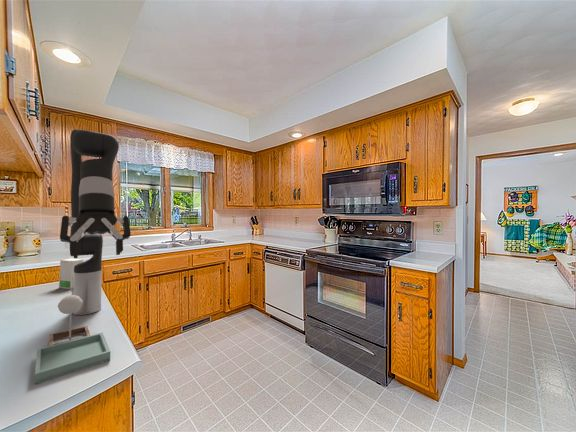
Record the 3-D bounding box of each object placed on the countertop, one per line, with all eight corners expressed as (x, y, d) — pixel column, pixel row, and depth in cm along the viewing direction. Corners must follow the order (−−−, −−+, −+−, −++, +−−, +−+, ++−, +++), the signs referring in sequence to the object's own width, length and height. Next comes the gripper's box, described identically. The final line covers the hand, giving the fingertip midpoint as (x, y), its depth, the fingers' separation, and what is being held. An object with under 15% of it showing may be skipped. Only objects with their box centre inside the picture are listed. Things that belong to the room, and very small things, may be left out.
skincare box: (58, 288, 136) (59, 260, 136) (70, 284, 143) (71, 258, 143) (71, 289, 135) (71, 260, 135) (83, 285, 141) (83, 258, 141)
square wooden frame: (49, 340, 81) (49, 334, 81) (87, 331, 88) (87, 325, 88) (49, 352, 74) (49, 346, 74) (90, 341, 81) (90, 335, 81)
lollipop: (80, 334, 85) (80, 291, 85) (84, 340, 81) (84, 295, 81) (55, 341, 80) (56, 295, 80) (58, 348, 77) (59, 299, 77)
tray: (37, 357, 71) (37, 349, 71) (102, 340, 82) (102, 332, 82) (34, 384, 60) (34, 374, 60) (110, 359, 71) (110, 351, 71)
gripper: (126, 203, 74) (128, 256, 70) (62, 201, 65) (60, 262, 61) (130, 193, 69) (133, 250, 64) (60, 189, 59) (58, 255, 55)
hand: (97, 256), depth 62 cm, fingers open, 8 cm apart
